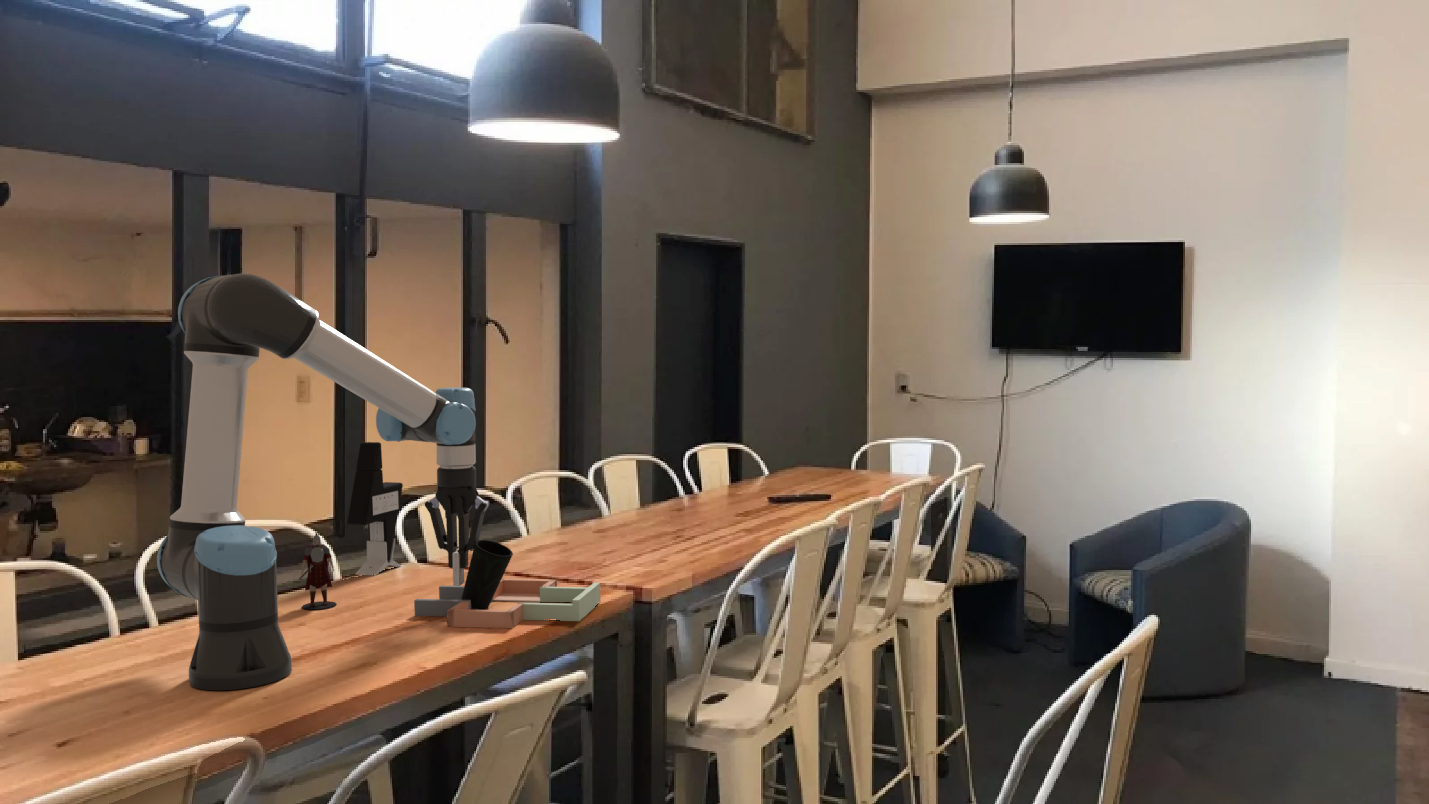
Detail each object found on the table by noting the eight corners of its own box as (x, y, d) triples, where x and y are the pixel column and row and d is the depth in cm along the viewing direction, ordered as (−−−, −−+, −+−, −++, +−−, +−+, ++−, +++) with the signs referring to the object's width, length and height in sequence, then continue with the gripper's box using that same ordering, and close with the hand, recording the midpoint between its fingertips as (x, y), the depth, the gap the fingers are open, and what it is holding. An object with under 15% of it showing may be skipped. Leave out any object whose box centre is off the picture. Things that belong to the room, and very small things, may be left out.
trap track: (398, 625, 211) (397, 604, 210) (455, 591, 238) (455, 573, 238) (569, 629, 205) (569, 608, 205) (608, 595, 232) (608, 576, 232)
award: (367, 578, 253) (362, 445, 251) (347, 576, 255) (343, 444, 253) (406, 564, 268) (402, 438, 266) (387, 563, 269) (383, 438, 267)
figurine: (302, 611, 222) (299, 536, 221) (299, 604, 229) (297, 531, 228) (338, 608, 225) (335, 533, 224) (334, 600, 232) (331, 528, 231)
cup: (501, 610, 224) (520, 555, 223) (474, 613, 218) (494, 557, 216) (475, 593, 228) (494, 539, 226) (448, 595, 222) (467, 540, 220)
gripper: (494, 464, 224) (496, 580, 226) (433, 463, 226) (435, 578, 228) (480, 469, 217) (483, 589, 219) (417, 467, 219) (420, 587, 221)
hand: (458, 584), depth 223 cm, fingers closed
